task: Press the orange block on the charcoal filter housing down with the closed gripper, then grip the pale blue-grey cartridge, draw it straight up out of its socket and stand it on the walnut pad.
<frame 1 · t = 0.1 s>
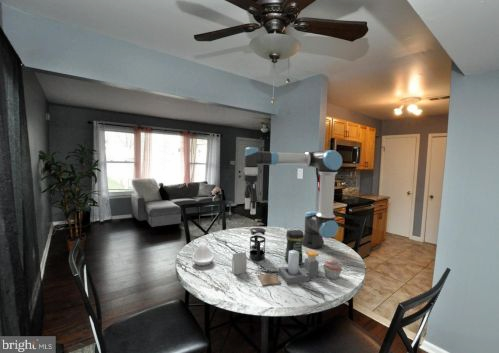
hand: (250, 211, 134), 28 cm above the table, tool pointing down, fingers open, 13 cm apart
coffee jar: (293, 262, 133), on the table
cartridge: (292, 277, 115), resting in housing
orange block: (311, 258, 117), point 9 cm above the table, slide at 0.0 cm
housing: (292, 277, 115), on the table
cupcake: (331, 276, 117), on the table
spoon rest: (202, 259, 134), on the table
pad: (269, 280, 112), on the table
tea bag: (239, 272, 120), on the table
french press: (256, 257, 138), on the table
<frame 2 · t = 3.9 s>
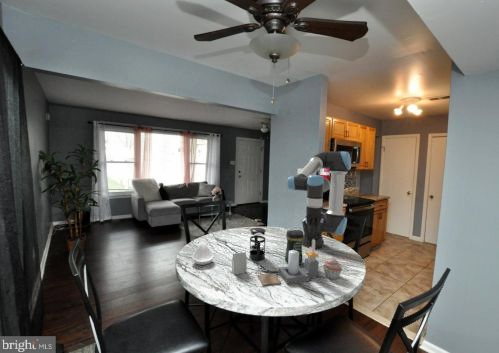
hand: (311, 252, 117), 12 cm above the table, tool pointing down, fingers closed
orange block: (311, 258, 117), point 9 cm above the table, slide at 0.2 cm, touching gripper
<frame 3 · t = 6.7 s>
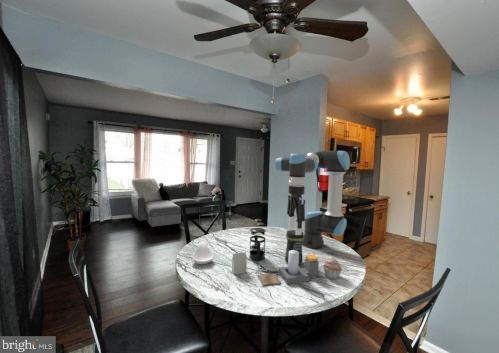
hand: (294, 231, 113), 23 cm above the table, tool pointing down, fingers open, 7 cm apart
orange block: (311, 262, 117), point 7 cm above the table, slide at 2.2 cm
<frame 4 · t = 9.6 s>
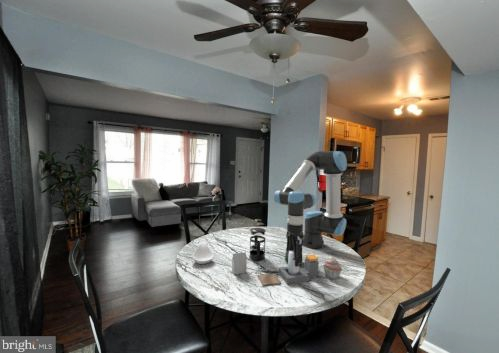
hand: (293, 269, 115), 4 cm above the table, tool pointing down, fingers closed on cartridge, 5 cm apart
cartridge: (292, 277, 115), resting in housing, touching gripper
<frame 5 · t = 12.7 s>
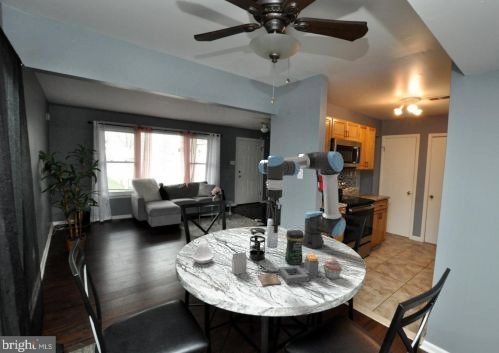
hand: (272, 237, 111), 21 cm above the table, tool pointing down, fingers closed on cartridge, 5 cm apart
cartridge: (272, 246, 111), point 17 cm above the table, touching gripper
when the fingers open (6 cm above the table, at t = 15.8 s): cartridge stays where it is, resting on pad.
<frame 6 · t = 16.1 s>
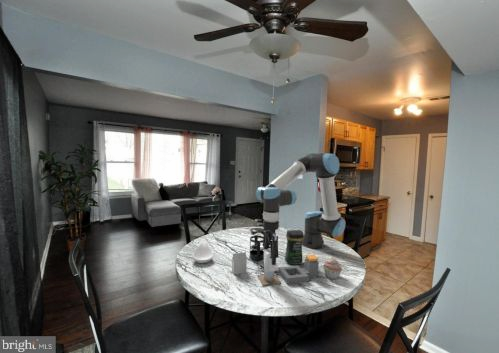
hand: (269, 266, 112), 7 cm above the table, tool pointing down, fingers open, 8 cm apart
cartridge: (269, 278, 112), point 1 cm above the table, touching pad
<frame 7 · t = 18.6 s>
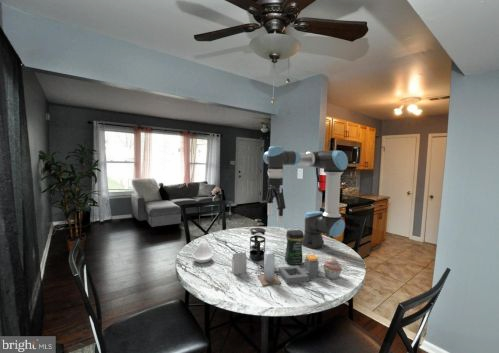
hand: (274, 218, 119), 28 cm above the table, tool pointing down, fingers open, 13 cm apart
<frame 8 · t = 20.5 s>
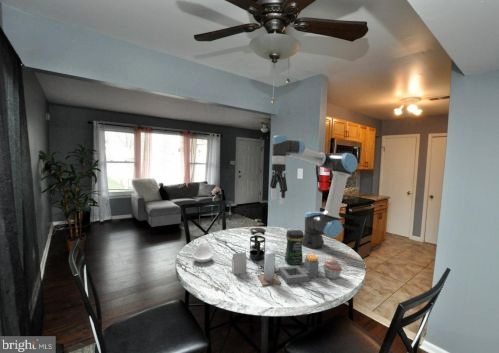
hand: (277, 201, 130), 35 cm above the table, tool pointing down, fingers open, 13 cm apart
at the end: orange block slide at 2.2 cm; cartridge 0.0 cm off-centre on the pad, point 0.6 cm above the pad's base; cartridge tilted 1° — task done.
